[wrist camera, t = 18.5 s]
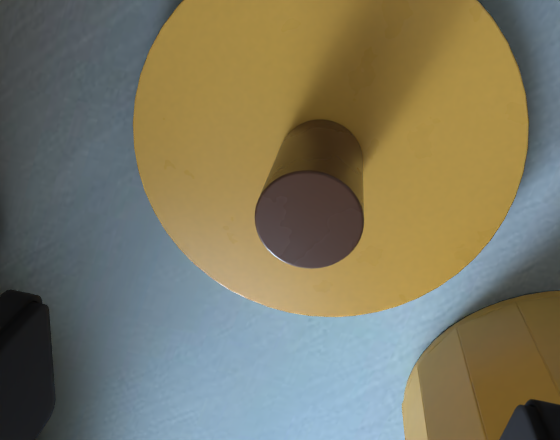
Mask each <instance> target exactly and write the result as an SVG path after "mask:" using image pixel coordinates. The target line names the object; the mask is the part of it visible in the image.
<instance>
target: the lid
mask: <svg viewBox="0 0 560 440" xmlns="http://www.w3.org/2000/svg"><path fill="white" fill-rule="evenodd" d="M133 133H134V149H135V154H136V160H137V166H138V170H139V174H140V177H141V180H142V183H143V187H144V190H145V193H146V195H147V197H148V199H149V201H150V204H151V206H152V208H153V210H154V212H155V214H156V216H157V217H158V219H159V221H160V222H161V224H162V226H163V227H164V229H165V231H166V232H167V233H168V235H169V236H170V237H171V238H172V240H173V241H174V242H175V244H176V245H177V246H178V248H179V249H180V250H181V251H182V252H183V253H184V254H185V255H186V256H187V257H188V258H189V259H190V260H191V261H192V262H193V263H194V264H195V265H196V266H197V267H199V268H200V269H201V270H202V271H204V272H205V273H206V274H207V275H208V276H210V277H211V278H212V279H214V280H215V281H217V282H218V283H220V284H221V285H223V286H225V287H226V288H228V289H229V290H231V291H233V292H235V293H237V294H239V295H241V296H243V297H245V298H247V299H249V300H251V301H254V302H257V303H259V304H262V305H264V306H267V307H270V308H274V309H278V310H282V311H285V312H289V313H295V314H302V315H308V316H323V317H341V316H356V315H362V314H368V313H374V312H378V311H382V310H386V309H389V308H393V307H396V306H399V305H402V304H404V303H407V302H409V301H412V300H414V299H417V298H419V297H421V296H423V295H425V294H426V293H428V292H430V291H432V290H434V289H436V288H438V287H439V286H441V285H442V284H443V283H445V282H446V281H448V280H449V279H451V278H452V277H453V276H455V275H456V274H458V273H459V272H460V271H461V270H462V269H463V268H464V267H465V266H467V265H468V264H469V263H470V262H471V261H472V260H473V259H474V258H475V257H476V256H477V255H478V254H479V253H480V252H481V250H482V249H483V248H484V247H485V246H486V245H487V244H488V242H489V241H490V240H491V239H492V237H493V236H494V234H495V233H496V231H497V230H498V228H499V227H500V225H501V224H502V222H503V221H504V219H505V217H506V215H507V213H508V211H509V209H510V207H511V205H512V203H513V201H514V199H515V196H516V193H517V190H518V187H519V184H520V181H521V178H522V175H523V172H524V166H525V161H526V156H527V150H528V134H529V117H528V108H527V98H526V92H525V89H524V85H523V81H522V77H521V73H520V70H519V67H518V64H517V62H516V60H515V57H514V55H513V53H512V50H511V48H510V46H509V43H508V41H507V40H506V38H505V37H504V35H503V33H502V32H501V30H500V29H499V27H498V25H497V24H496V22H495V21H494V19H493V17H492V16H491V15H490V14H489V13H488V12H487V10H486V9H485V8H484V7H483V6H482V5H481V4H480V2H479V1H478V0H183V1H182V2H181V3H180V4H179V5H178V6H177V8H176V9H175V10H174V12H173V13H172V14H171V16H170V17H169V18H168V20H167V21H166V22H165V24H164V25H163V26H162V28H161V30H160V32H159V34H158V35H157V37H156V39H155V41H154V43H153V45H152V46H151V48H150V50H149V53H148V55H147V58H146V61H145V64H144V66H143V69H142V72H141V74H140V79H139V83H138V88H137V92H136V97H135V106H134V117H133Z"/></svg>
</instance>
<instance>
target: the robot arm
mask: <svg viewBox="0 0 560 440" xmlns="http://www.w3.org/2000/svg"><path fill="white" fill-rule="evenodd" d="M54 405H55V387H54V373H53V359H52V345H51V331H50V317H49V308H48V306H47V305H46V304H42V299H41V297H40V296H38V295H35V294H30V293H25V292H20V291H15V290H7V291H6V292H4V293H3V294H2V295H1V296H0V440H35V439H36V437H37V436H38V434H39V433H40V431H41V430H42V428H43V427H44V426H45V424H46V423H47V421H48V420H49V418H50V416H51V414H52V412H53V409H54ZM499 440H560V405H559V404H554V403H549V402H545V401H540V400H535V399H530V400H528V401H527V402H526V404H525V405H518V406H517V407H516V408H515V410H514V412H513V414H512V416H511V418H510V420H509V422H508V424H507V426H506V427H505V429H504V431H503V433H502V435H501V437H500V439H499Z"/></svg>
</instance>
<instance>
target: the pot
mask: <svg viewBox="0 0 560 440" xmlns="http://www.w3.org/2000/svg"><path fill="white" fill-rule="evenodd" d="M530 399H535V400H540V401H545V402H549V403H554V404H559V405H560V291H547V292H541V293H534V294H528V295H523V296H519V297H516V298H512V299H508V300H504V301H501V302H499V303H496V304H493V305H491V306H488V307H485V308H483V309H481V310H479V311H477V312H475V313H473V314H471V315H469V316H467V317H465V318H463V319H462V320H460V321H459V322H457V323H456V324H454V325H453V326H451V327H450V328H448V329H447V330H446V331H445V332H443V333H442V334H441V335H440V336H439V337H437V338H436V339H435V340H434V341H433V342H432V343H431V344H430V346H429V347H428V348H427V349H426V350H425V351H424V352H423V354H422V355H421V357H420V358H419V360H418V361H417V363H416V364H415V366H414V368H413V370H412V372H411V374H410V376H409V378H408V382H407V385H406V389H405V393H404V401H403V403H402V413H403V423H404V433H405V440H499V439H500V437H501V435H502V433H503V431H504V429H505V427H506V426H507V424H508V422H509V420H510V418H511V416H512V414H513V412H514V410H515V408H516V407H517V406H518V405H525V404H526V402H527V401H528V400H530Z"/></svg>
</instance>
